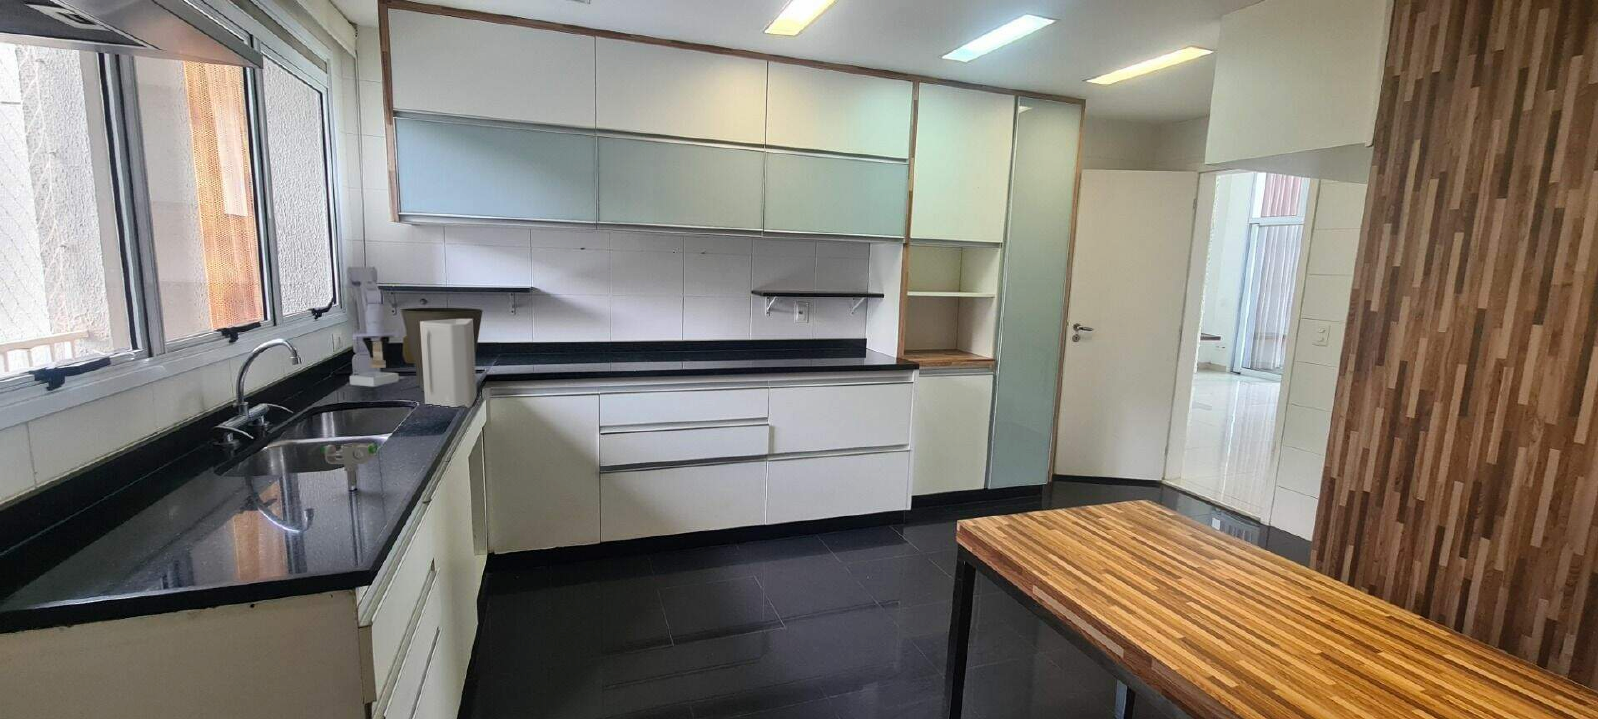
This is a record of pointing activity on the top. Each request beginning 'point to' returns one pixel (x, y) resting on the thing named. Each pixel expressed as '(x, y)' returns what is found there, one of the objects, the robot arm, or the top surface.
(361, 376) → the tray
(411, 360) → the squeeze bottle
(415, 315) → the waste basket
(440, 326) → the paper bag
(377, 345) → the strut
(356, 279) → the robot arm
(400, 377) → the stud plate
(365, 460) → the mechanical component
